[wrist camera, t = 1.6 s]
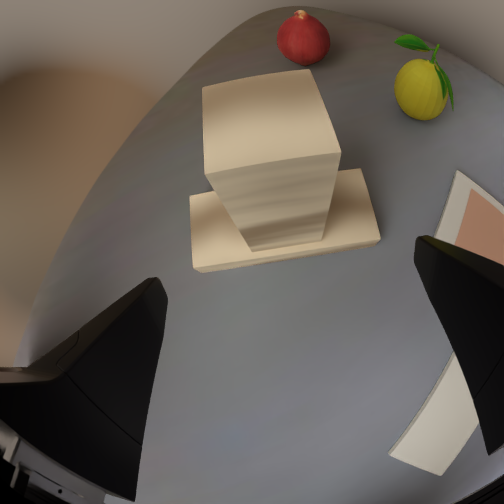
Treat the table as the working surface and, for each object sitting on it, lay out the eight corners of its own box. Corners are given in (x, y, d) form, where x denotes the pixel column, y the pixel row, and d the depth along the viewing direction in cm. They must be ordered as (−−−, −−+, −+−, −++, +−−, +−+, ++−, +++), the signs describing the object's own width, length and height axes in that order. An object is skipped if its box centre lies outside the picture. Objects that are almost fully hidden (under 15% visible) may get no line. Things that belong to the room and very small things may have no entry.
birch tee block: (374, 246, 21) (446, 156, 9) (201, 273, 23) (102, 211, 10) (356, 180, 23) (391, 61, 10) (197, 205, 24) (120, 108, 12)
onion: (290, 48, 29) (285, -3, 21) (334, 58, 27) (336, 5, 19) (272, 72, 28) (263, 16, 20) (320, 83, 26) (321, 25, 18)
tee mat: (473, 485, 13) (476, 487, 12) (326, 421, 18) (327, 424, 17) (563, 274, 16) (567, 273, 15) (454, 172, 21) (457, 169, 21)
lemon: (383, 87, 25) (398, 17, 15) (430, 100, 24) (455, 36, 14) (385, 129, 24) (409, 51, 14) (437, 144, 22) (475, 76, 13)
